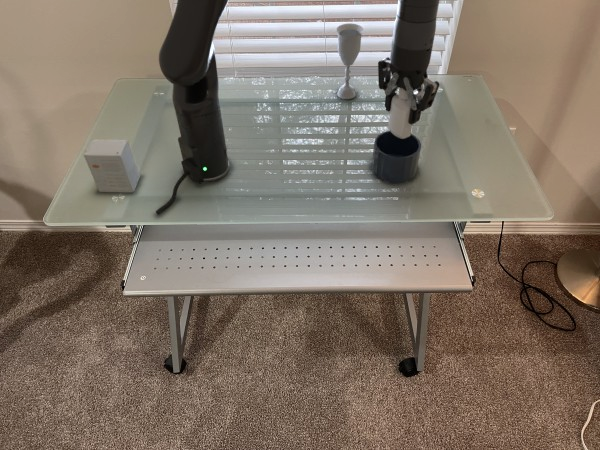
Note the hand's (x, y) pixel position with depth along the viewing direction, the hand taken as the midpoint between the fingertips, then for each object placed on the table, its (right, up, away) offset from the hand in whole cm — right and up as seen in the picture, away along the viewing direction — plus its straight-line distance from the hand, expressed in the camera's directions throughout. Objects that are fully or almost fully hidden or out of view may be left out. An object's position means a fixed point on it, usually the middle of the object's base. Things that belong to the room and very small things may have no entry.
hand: (401, 115), depth 105 cm
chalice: (-9, +13, +33) cm, 36 cm away
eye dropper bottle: (0, -3, +3) cm, 4 cm away
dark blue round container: (0, -10, +10) cm, 14 cm away
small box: (-62, -14, +8) cm, 64 cm away
